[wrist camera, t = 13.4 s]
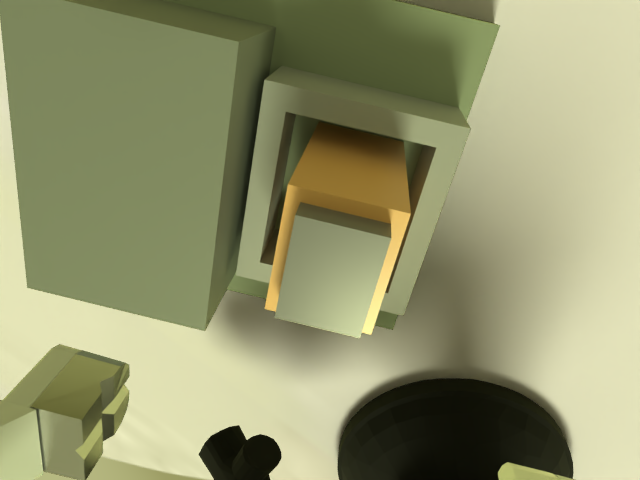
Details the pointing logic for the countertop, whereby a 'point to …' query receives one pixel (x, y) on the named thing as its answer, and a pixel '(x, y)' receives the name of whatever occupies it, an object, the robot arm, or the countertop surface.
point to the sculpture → (419, 437)
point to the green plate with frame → (216, 135)
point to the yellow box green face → (340, 231)
